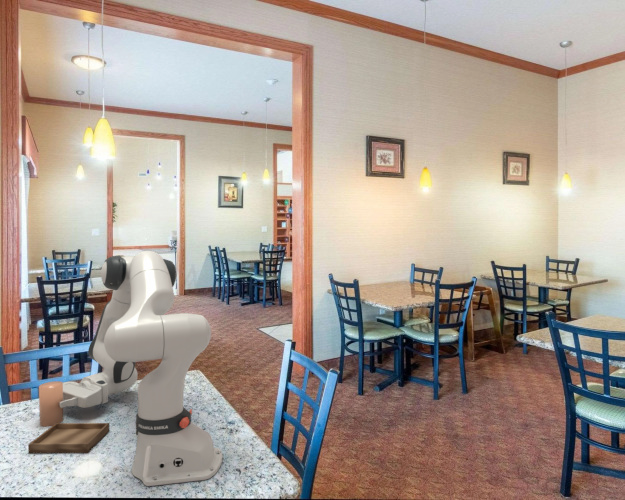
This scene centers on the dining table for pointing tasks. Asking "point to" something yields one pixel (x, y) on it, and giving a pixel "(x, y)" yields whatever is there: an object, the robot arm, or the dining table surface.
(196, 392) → the dining table surface
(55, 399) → the peach cylinder
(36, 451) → the tray
